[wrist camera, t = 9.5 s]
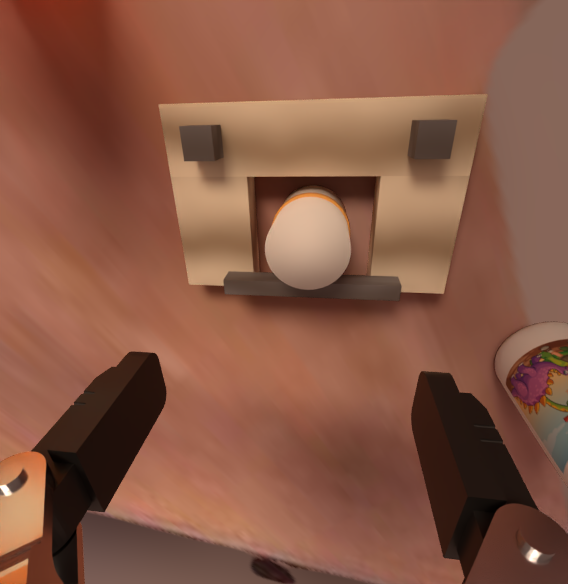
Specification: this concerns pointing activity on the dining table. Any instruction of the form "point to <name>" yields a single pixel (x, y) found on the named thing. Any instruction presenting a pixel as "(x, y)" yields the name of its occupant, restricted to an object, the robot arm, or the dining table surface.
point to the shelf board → (324, 162)
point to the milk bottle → (540, 385)
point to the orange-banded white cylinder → (309, 239)
